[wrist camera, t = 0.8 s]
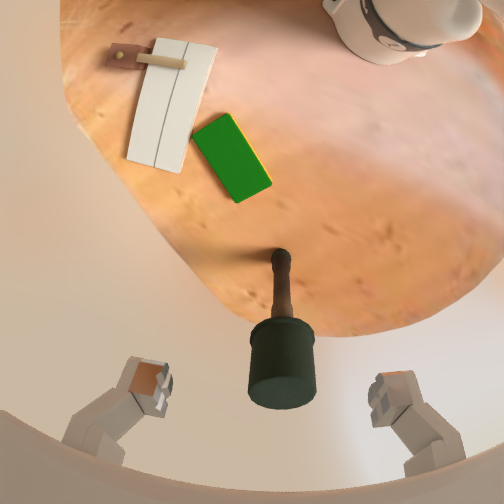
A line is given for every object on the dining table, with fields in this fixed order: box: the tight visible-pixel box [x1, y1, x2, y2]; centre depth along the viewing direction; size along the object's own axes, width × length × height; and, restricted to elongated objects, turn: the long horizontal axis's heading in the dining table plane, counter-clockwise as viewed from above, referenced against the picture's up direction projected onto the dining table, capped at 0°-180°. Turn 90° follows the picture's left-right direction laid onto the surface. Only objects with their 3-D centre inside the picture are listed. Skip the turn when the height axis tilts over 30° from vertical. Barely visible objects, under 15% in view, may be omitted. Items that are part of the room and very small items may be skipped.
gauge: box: [105, 43, 187, 70], centre depth 35 cm, size 4×13×6 cm, turn 71°
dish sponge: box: [192, 113, 272, 203], centre depth 45 cm, size 7×14×2 cm, turn 31°
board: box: [127, 37, 218, 174], centre depth 41 cm, size 22×10×2 cm, turn 162°
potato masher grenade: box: [248, 249, 316, 410], centre depth 42 cm, size 8×9×30 cm
